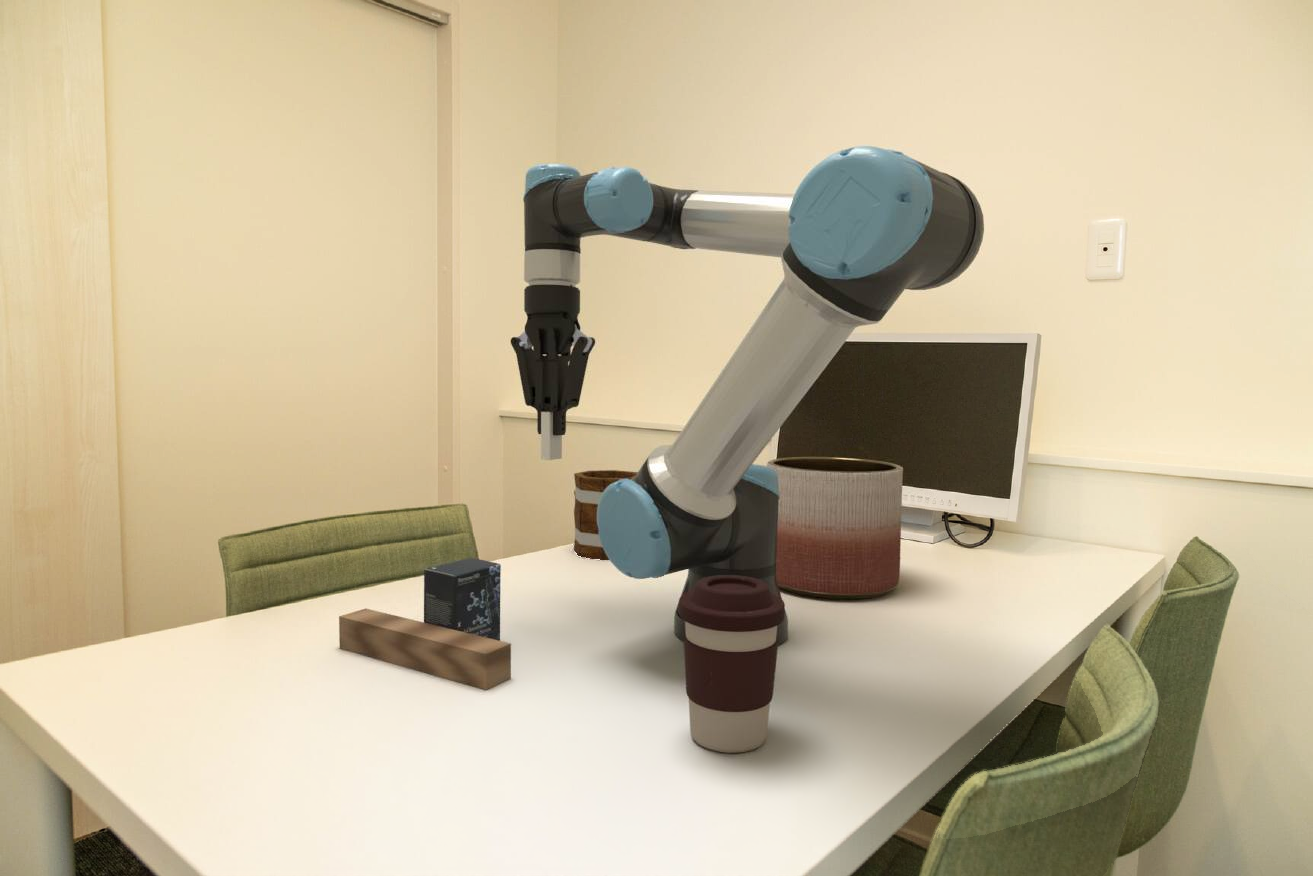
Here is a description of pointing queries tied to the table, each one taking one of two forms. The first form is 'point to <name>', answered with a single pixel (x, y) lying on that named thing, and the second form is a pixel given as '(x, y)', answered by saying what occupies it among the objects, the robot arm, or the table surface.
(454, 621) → the box
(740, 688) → the coffee cup
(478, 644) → the brown wooden bar
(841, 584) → the planter
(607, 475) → the mug
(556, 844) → the table surface
